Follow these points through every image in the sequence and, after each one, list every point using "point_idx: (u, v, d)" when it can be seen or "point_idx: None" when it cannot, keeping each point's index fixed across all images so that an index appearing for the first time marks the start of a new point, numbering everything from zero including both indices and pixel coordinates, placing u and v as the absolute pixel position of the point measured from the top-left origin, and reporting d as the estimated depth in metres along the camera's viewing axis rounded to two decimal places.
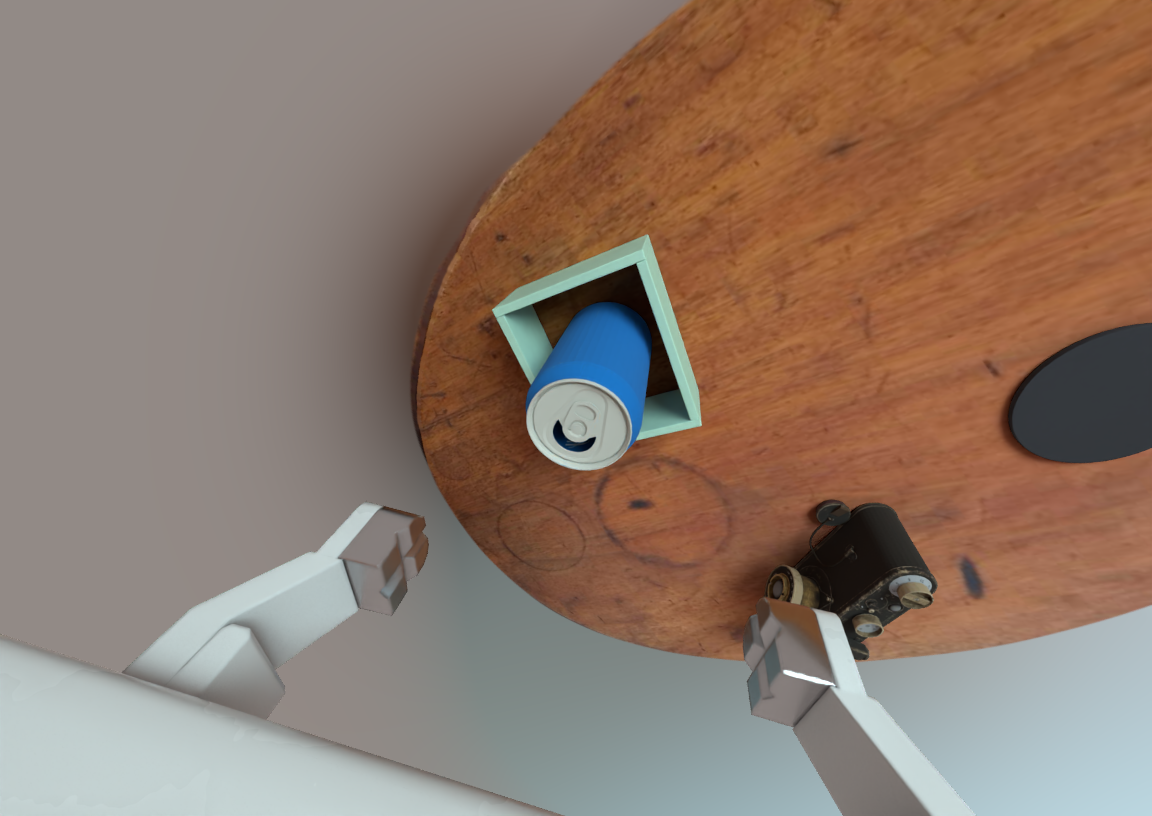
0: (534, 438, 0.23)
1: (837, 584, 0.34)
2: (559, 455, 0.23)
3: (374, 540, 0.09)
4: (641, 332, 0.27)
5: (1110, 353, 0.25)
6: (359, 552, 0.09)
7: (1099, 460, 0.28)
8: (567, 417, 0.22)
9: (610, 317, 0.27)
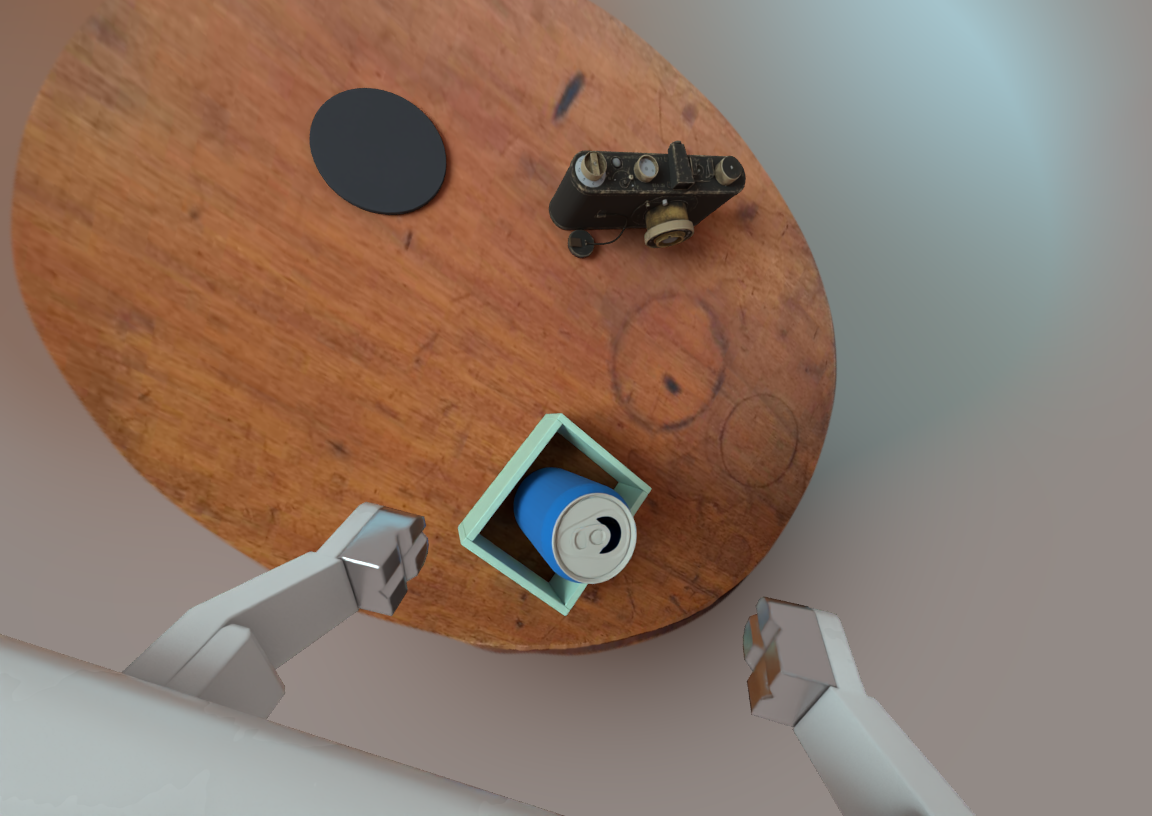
0: (626, 560, 0.27)
1: (631, 206, 0.36)
2: (629, 533, 0.27)
3: (374, 540, 0.09)
4: (521, 496, 0.33)
5: (354, 184, 0.33)
6: (359, 552, 0.09)
7: (423, 114, 0.35)
8: (592, 549, 0.26)
9: (522, 527, 0.33)
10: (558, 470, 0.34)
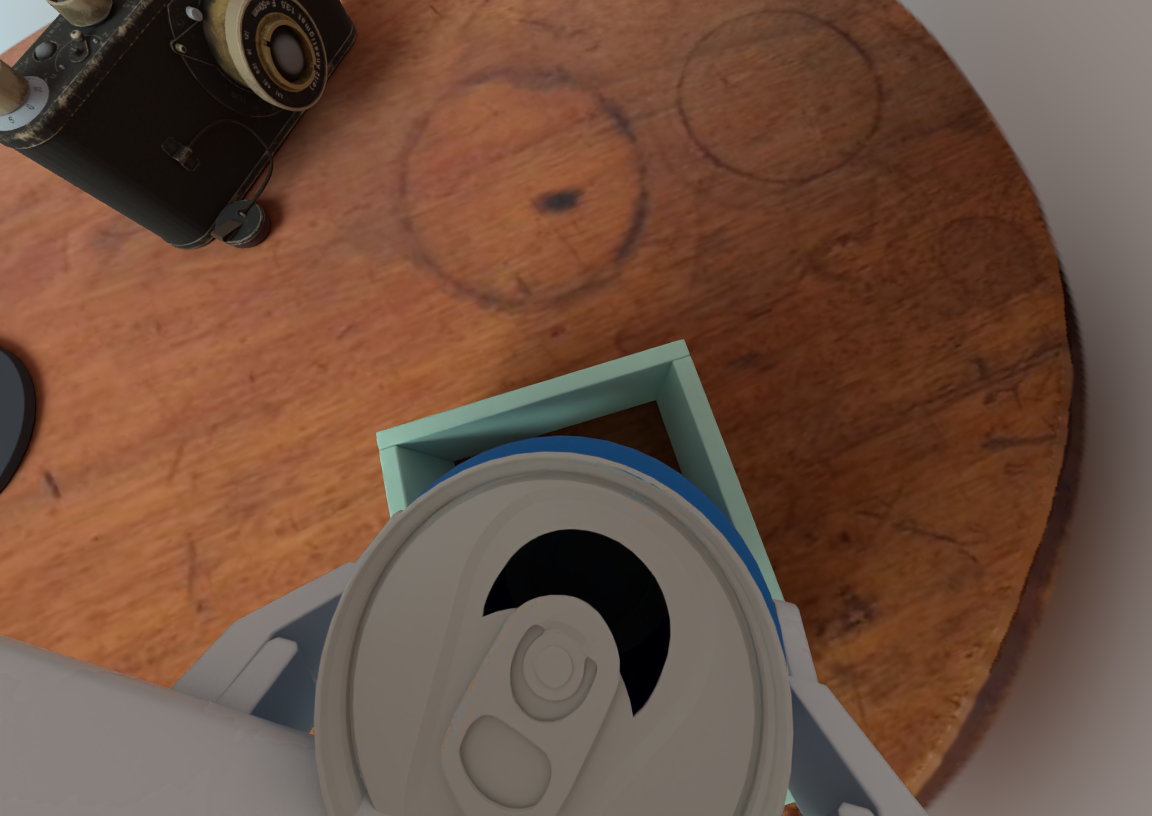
0: (761, 617, 0.05)
1: (181, 85, 0.18)
2: (651, 513, 0.05)
3: None
4: None
5: None
6: None
7: None
8: (587, 737, 0.05)
9: None
10: None
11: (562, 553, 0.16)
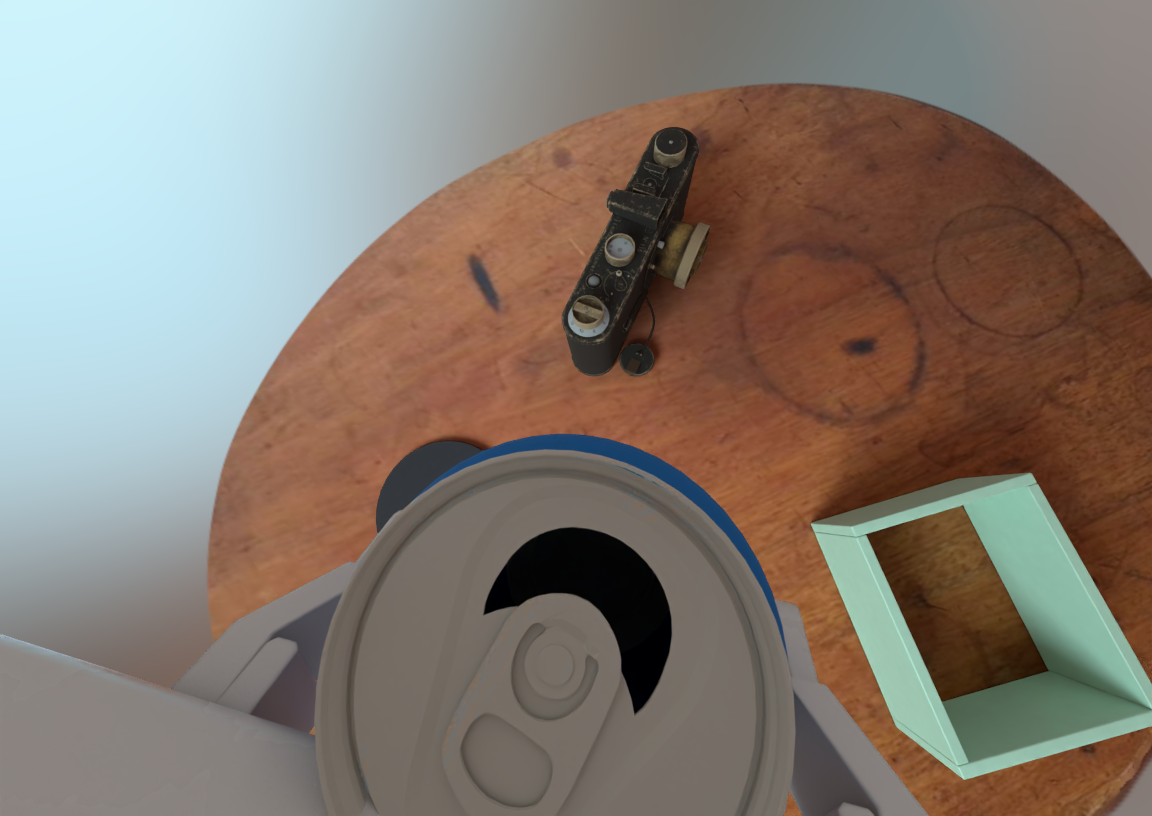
0: (763, 615, 0.05)
1: (640, 285, 0.28)
2: (652, 511, 0.05)
3: None
4: None
5: None
6: None
7: (432, 444, 0.31)
8: (588, 735, 0.05)
9: None
10: None
11: (563, 552, 0.16)
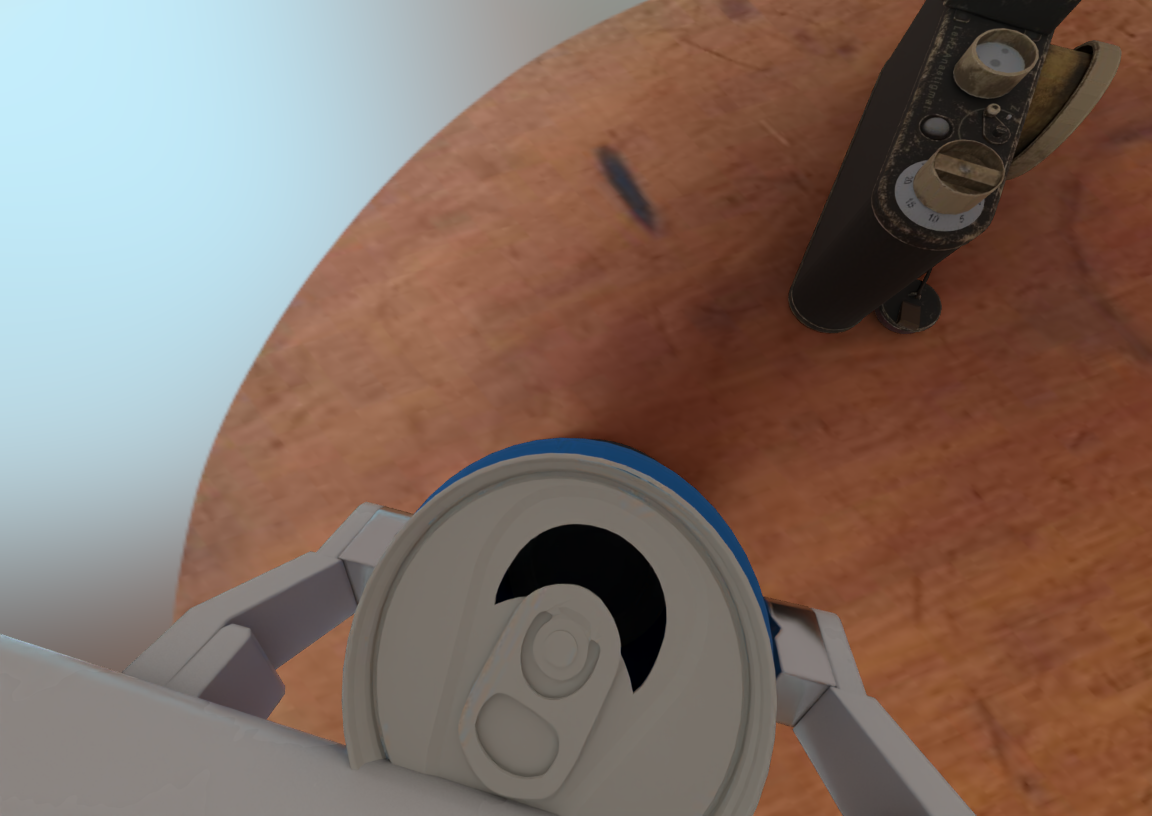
0: (748, 601, 0.06)
1: None
2: (649, 509, 0.06)
3: (374, 540, 0.09)
4: None
5: None
6: (359, 552, 0.09)
7: None
8: (592, 711, 0.05)
9: None
10: None
11: (562, 550, 0.17)
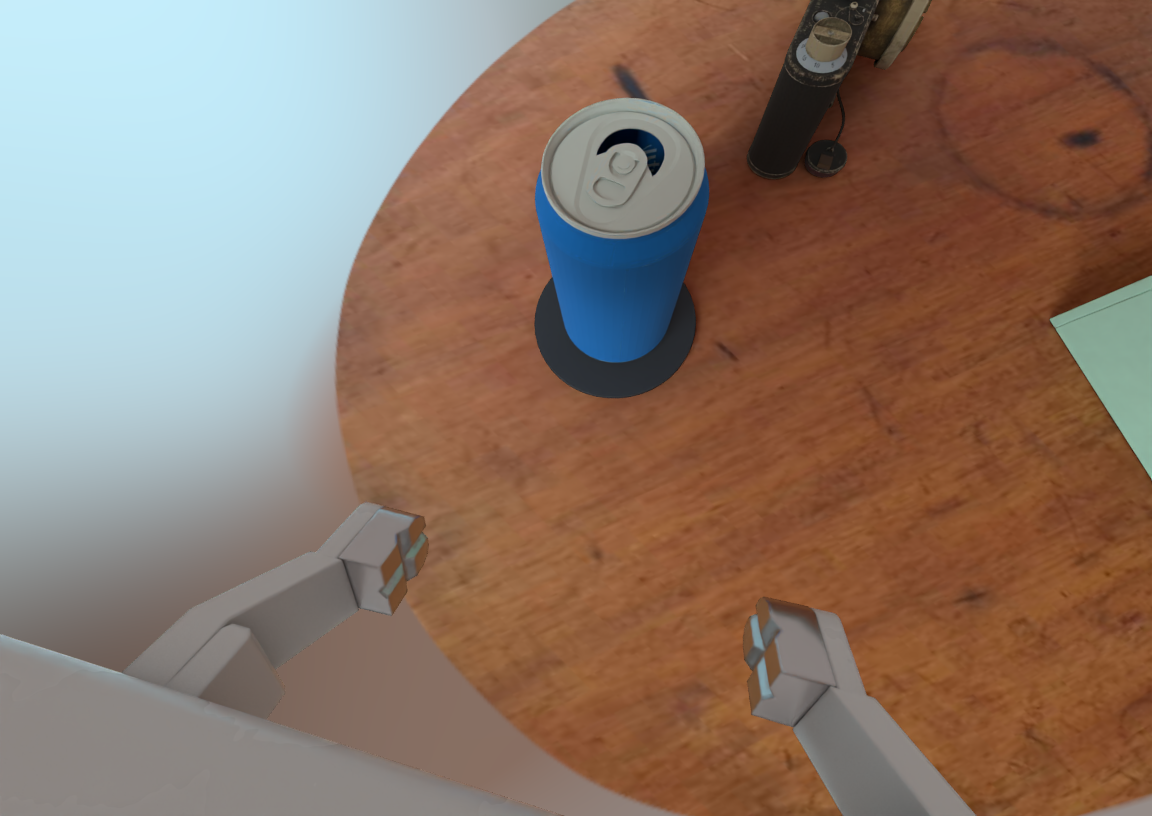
0: (695, 142, 0.14)
1: None
2: (657, 119, 0.15)
3: (374, 540, 0.09)
4: (567, 323, 0.23)
5: (639, 368, 0.25)
6: (359, 552, 0.09)
7: None
8: (637, 180, 0.14)
9: (602, 340, 0.21)
10: None
11: None
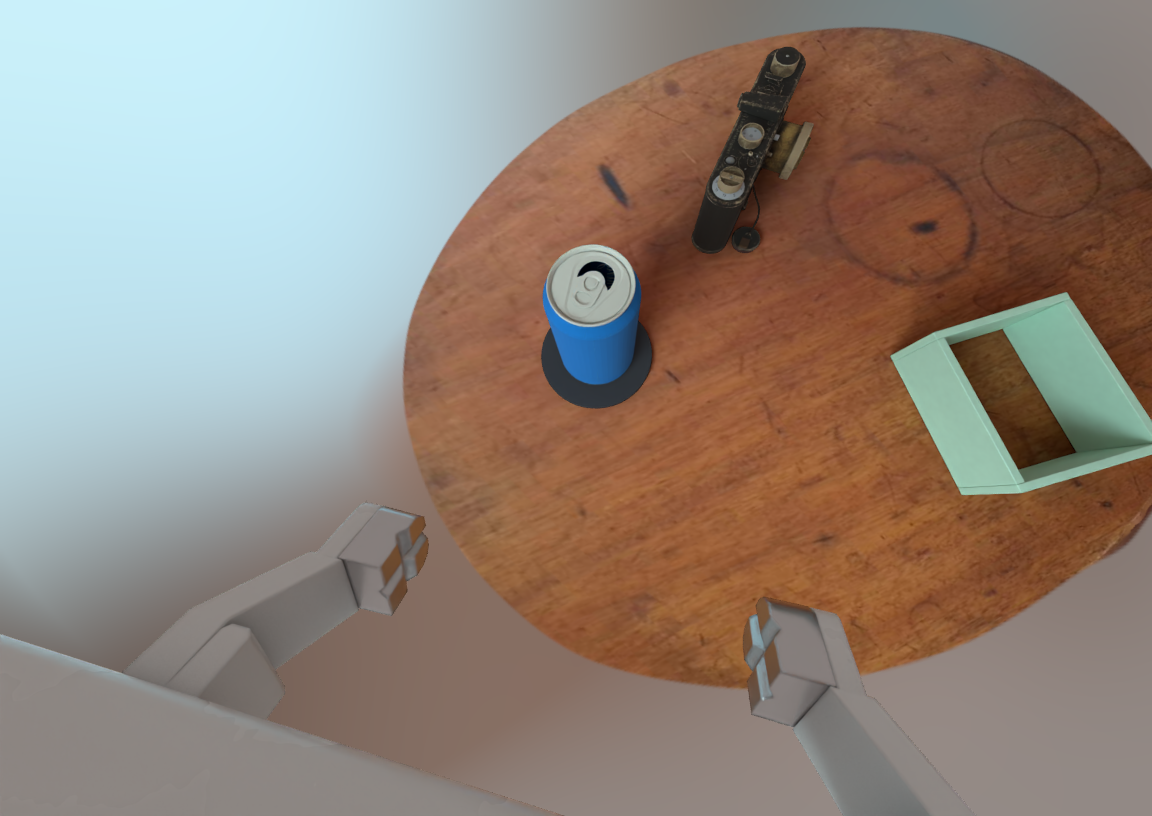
0: (631, 271, 0.26)
1: None
2: (611, 256, 0.27)
3: (374, 540, 0.09)
4: (563, 360, 0.34)
5: (613, 388, 0.37)
6: (359, 552, 0.09)
7: None
8: (598, 293, 0.26)
9: (585, 372, 0.33)
10: None
11: None
